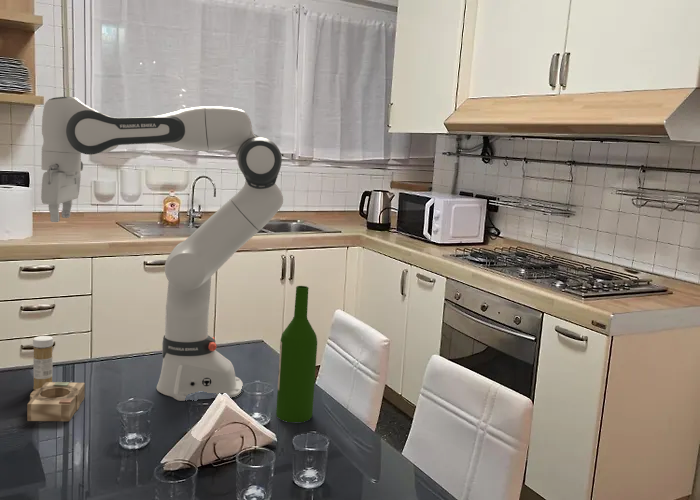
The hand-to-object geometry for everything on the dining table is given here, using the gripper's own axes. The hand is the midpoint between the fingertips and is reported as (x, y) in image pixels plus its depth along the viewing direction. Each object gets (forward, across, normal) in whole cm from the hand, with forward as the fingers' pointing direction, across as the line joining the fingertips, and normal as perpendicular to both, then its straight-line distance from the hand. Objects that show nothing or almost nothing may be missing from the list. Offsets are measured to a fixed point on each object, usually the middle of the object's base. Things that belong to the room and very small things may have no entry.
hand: (60, 219), depth 162 cm
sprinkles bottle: (+44, -2, +3) cm, 44 cm away
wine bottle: (+43, -18, -60) cm, 76 cm away
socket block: (+43, -15, -4) cm, 46 cm away
